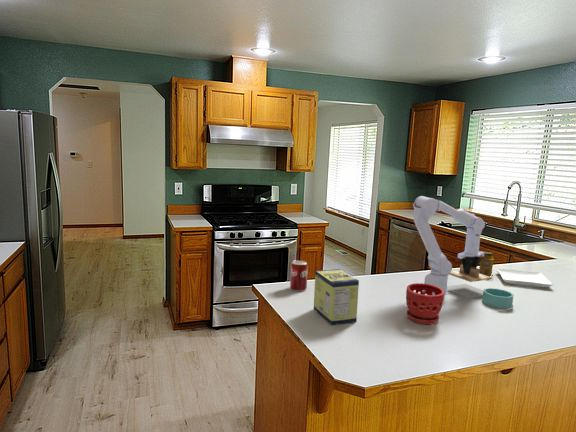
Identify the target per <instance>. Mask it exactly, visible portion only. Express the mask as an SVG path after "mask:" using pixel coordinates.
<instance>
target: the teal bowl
mask: <svg viewBox="0 0 576 432" xmlns="http://www.w3.org/2000/svg"><path fill="white" fill-rule="evenodd" d="M514 296H515V294H514V293H512V292H511V291H507V290H504V289H500V288H493V287H489V288H484V289H483V296H482V299H481V300H482V301H481V302H483V304H485V305H488V306H490V307H493V308H498V309H505V310H511V309H512V308H513V303H514Z"/></svg>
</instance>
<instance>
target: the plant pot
mask: <svg viewBox="0 0 576 432" xmlns="http://www.w3.org/2000/svg"><path fill="white" fill-rule="evenodd" d="M423 290H425V291H423ZM433 292H434V293H435V295H433V294H432V293H433ZM444 299H445V294H444V291H443V290H442V289H441V288H439V287H437V286H434V285H430V284H424V282H423V283H419V282H416V283H411V284H408V285H407V286H406V291H405V302H406V307H407V310H406V316H407V317H408V318H409V319H410V320H411V321H413V322H415V323H419V324H423V325H431V324H436V323H437V322H438V321H439V319H440V315H439V314H440V312H441V310H442V307H443V304H444Z"/></svg>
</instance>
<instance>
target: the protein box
mask: <svg viewBox="0 0 576 432" xmlns="http://www.w3.org/2000/svg"><path fill="white" fill-rule="evenodd" d="M359 284H360V280H358V279H357V278H355V277H354V276H352V275H350V274H348V273H347V272H345V271H343V270H342V269H339V268H335V269H322V270H320V269H319V270H315V274H314V291H313V292H314V295H313V311H315V312H316V313H317V314H318V315H319V316H320V317H321V318H322V319H324V320H325V321H326V322H327V323H328V324H330V325H331V326H332V325H333V326H334V325H341V324H348V323H355V322H357V319H358V318H357V317H358V302H359V301H358V300H359Z"/></svg>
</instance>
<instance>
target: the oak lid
mask: <svg viewBox="0 0 576 432" xmlns="http://www.w3.org/2000/svg"><path fill="white" fill-rule="evenodd" d="M479 271H480V269H479V267H477V268H474V267H471V266H470V271H469V274H466V273H464V269H463V264H460V265H459V270H453V271H452V270H451V272H450V273H449V275H448V276H452V277H455V278H457V279H461V280H463V281H467V282H470V283H473V282H474V283H475V282H480V281H486V280H487V281H488V280H492V278H493V276H492V277H489V276H486V275H483V274H480V273H479Z"/></svg>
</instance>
